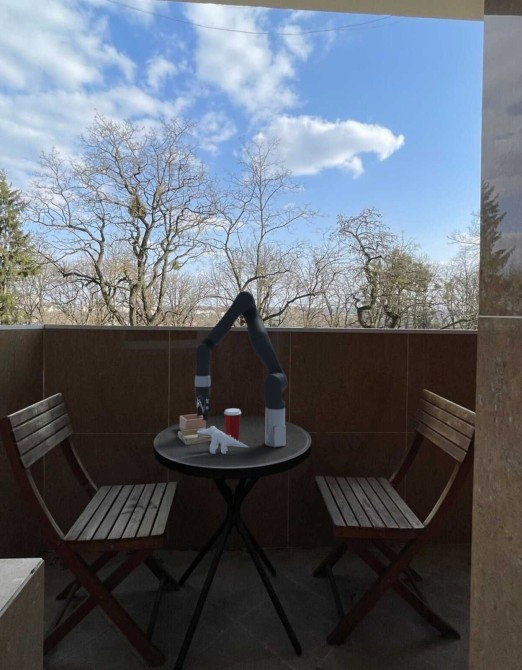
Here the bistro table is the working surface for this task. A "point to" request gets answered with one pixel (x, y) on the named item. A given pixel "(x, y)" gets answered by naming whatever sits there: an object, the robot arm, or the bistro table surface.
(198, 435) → the stone
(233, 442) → the dinosaur statue
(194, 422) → the bin
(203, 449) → the bistro table surface
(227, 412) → the coffee cup
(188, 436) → the tray
